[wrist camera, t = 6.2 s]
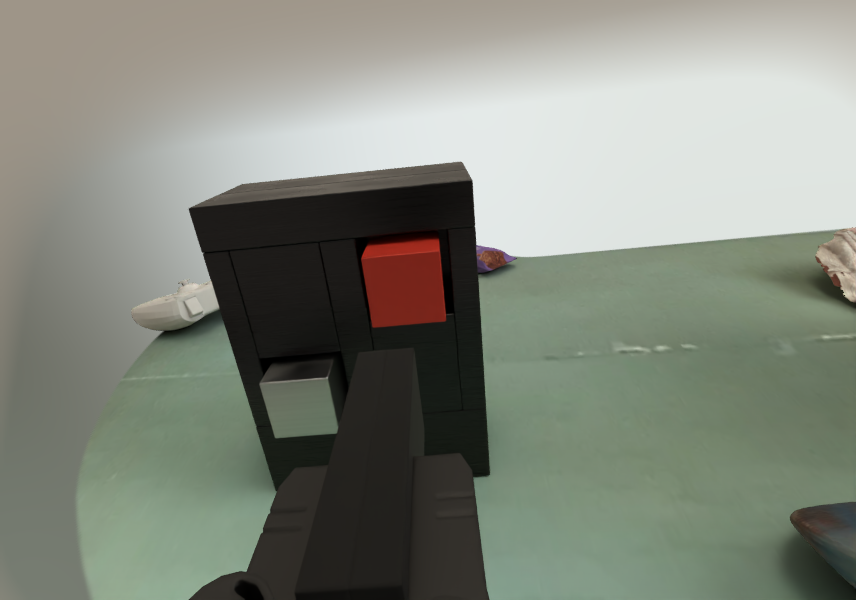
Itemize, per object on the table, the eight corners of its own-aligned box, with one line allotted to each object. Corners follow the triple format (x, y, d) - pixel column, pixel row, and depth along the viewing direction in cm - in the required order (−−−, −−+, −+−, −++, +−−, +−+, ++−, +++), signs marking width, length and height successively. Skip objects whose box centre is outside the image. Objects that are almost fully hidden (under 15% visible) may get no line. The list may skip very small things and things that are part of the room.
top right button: (446, 321, 20) (439, 250, 18) (372, 328, 20) (360, 257, 19) (444, 294, 22) (438, 231, 21) (379, 300, 23) (369, 237, 21)
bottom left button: (339, 433, 22) (327, 377, 21) (274, 439, 22) (258, 383, 21) (349, 396, 25) (339, 345, 24) (291, 401, 25) (278, 350, 24)
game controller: (239, 261, 58) (279, 245, 52) (253, 293, 59) (295, 281, 52) (117, 305, 48) (147, 292, 41) (137, 343, 49) (169, 336, 42)
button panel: (490, 475, 25) (472, 179, 19) (275, 491, 26) (187, 208, 19) (479, 408, 31) (462, 161, 24) (302, 422, 31) (240, 184, 25)
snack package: (419, 247, 59) (446, 237, 62) (421, 261, 60) (447, 251, 63) (490, 262, 51) (517, 250, 54) (491, 278, 52) (517, 265, 55)
